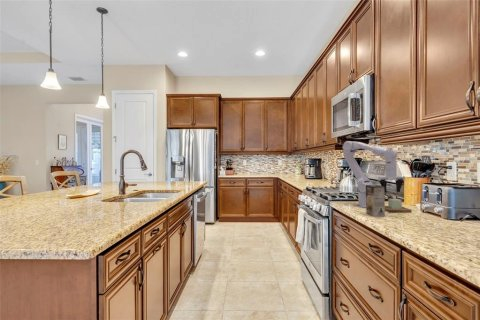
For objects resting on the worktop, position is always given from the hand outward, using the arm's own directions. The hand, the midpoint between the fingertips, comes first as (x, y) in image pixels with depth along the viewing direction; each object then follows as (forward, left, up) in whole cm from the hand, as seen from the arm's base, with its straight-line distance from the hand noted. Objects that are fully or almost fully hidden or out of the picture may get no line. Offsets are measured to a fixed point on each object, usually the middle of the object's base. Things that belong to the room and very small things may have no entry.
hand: (391, 192), depth 155 cm
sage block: (+2, +1, -9) cm, 9 cm away
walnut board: (+2, +1, -10) cm, 11 cm away
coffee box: (+13, -15, -11) cm, 23 cm away
